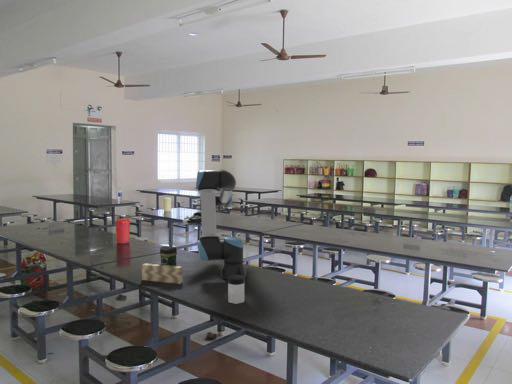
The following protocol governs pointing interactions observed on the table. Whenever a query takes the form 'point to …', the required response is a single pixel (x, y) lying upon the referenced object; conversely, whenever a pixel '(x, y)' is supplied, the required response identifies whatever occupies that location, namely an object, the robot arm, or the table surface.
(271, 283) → the table surface
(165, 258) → the coffee jar
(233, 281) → the jar
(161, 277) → the wooden block
